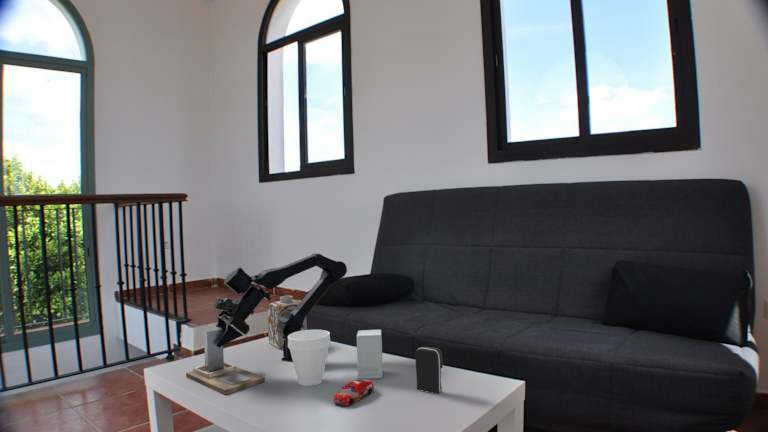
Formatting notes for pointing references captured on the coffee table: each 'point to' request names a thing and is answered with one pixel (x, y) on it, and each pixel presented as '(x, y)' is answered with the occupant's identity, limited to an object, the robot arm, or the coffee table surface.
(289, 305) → the decorative jar
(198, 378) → the wooden board
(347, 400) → the race car
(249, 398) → the coffee table surface
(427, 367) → the battery charger
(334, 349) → the coffee table surface
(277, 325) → the robot arm
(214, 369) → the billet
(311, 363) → the cup
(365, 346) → the supplement box
